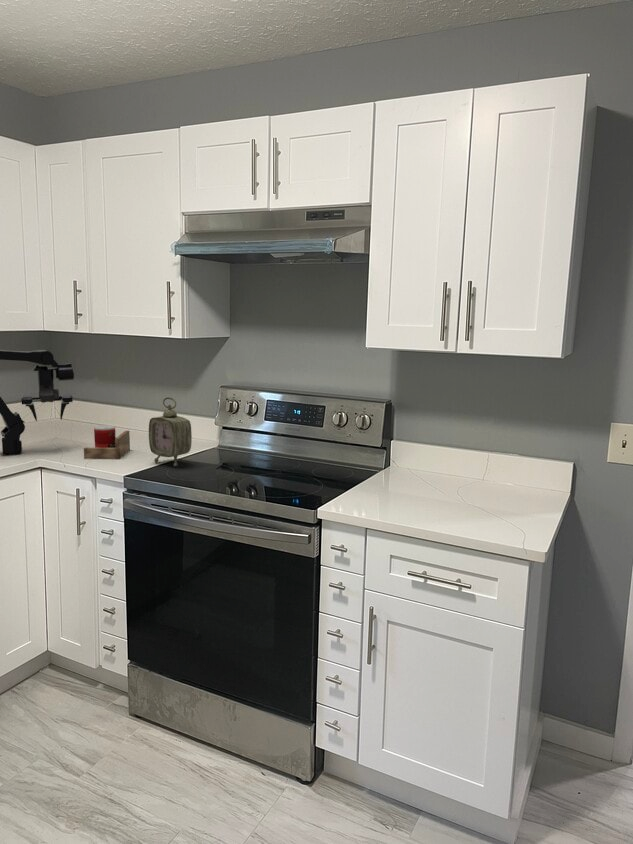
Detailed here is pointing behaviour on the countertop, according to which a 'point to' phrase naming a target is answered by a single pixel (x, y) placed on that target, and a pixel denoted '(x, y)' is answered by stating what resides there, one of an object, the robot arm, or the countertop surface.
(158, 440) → the tabletop clock
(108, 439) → the canned food
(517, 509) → the countertop surface
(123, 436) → the cradle
